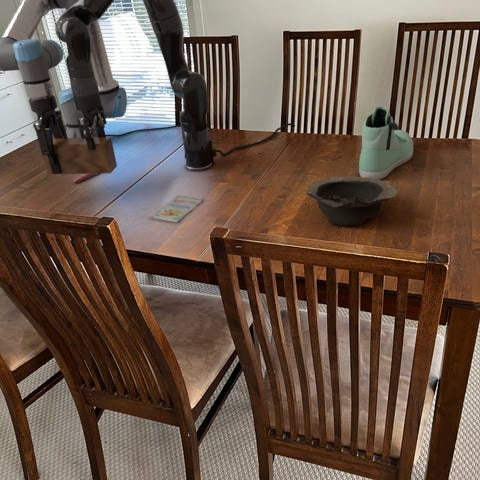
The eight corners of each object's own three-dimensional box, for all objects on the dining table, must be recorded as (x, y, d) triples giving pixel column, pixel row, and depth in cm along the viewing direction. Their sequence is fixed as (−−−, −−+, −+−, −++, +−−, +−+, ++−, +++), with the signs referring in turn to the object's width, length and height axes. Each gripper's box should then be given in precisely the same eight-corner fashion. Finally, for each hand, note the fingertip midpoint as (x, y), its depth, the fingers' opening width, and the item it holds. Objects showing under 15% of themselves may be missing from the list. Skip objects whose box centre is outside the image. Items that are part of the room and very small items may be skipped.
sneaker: (418, 146, 175) (426, 90, 164) (396, 184, 150) (403, 120, 139) (381, 142, 181) (385, 87, 170) (353, 178, 156) (357, 116, 145)
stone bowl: (342, 242, 123) (342, 209, 118) (290, 211, 143) (288, 182, 139) (415, 214, 131) (417, 183, 127) (356, 189, 152) (356, 161, 147)
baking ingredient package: (151, 216, 142) (178, 195, 153) (151, 217, 142) (178, 197, 153) (176, 221, 138) (202, 199, 149) (176, 222, 138) (202, 201, 150)
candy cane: (65, 180, 171) (64, 177, 170) (98, 165, 181) (97, 162, 180) (76, 184, 168) (75, 180, 167) (108, 168, 178) (107, 164, 177)
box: (47, 174, 152) (38, 145, 147) (55, 166, 157) (47, 138, 152) (110, 173, 149) (104, 143, 144) (117, 165, 154) (110, 137, 149)
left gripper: (37, 105, 133) (60, 181, 145) (66, 87, 149) (84, 157, 161) (12, 106, 134) (36, 181, 146) (44, 88, 150) (63, 158, 162)
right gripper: (88, 98, 133) (100, 153, 141) (106, 85, 145) (117, 137, 153) (63, 98, 134) (76, 153, 142) (83, 86, 146) (95, 137, 154)
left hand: (61, 169), depth 154 cm, fingers closed on box, 6 cm apart
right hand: (97, 145), depth 148 cm, fingers open, 8 cm apart
